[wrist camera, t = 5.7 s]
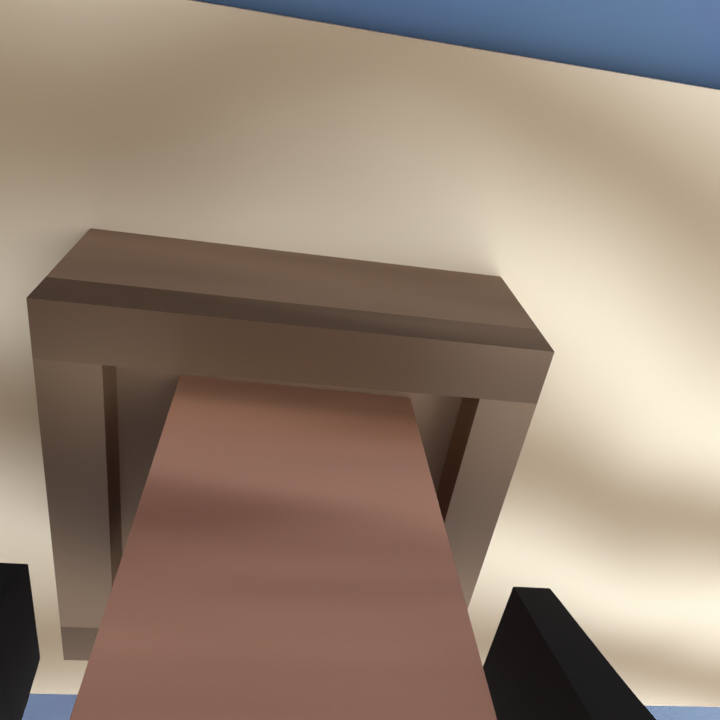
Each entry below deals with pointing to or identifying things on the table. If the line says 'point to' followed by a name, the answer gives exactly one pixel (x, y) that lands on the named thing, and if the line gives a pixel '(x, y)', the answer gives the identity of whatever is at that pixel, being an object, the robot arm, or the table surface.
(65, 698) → the table surface
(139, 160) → the build mat
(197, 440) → the block
